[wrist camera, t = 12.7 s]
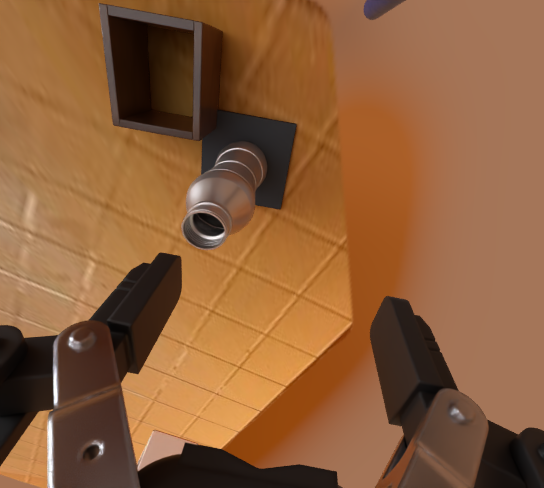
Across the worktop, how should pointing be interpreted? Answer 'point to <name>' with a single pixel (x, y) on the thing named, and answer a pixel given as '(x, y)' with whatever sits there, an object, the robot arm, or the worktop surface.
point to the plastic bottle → (224, 196)
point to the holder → (135, 72)
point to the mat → (266, 136)
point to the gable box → (160, 448)
